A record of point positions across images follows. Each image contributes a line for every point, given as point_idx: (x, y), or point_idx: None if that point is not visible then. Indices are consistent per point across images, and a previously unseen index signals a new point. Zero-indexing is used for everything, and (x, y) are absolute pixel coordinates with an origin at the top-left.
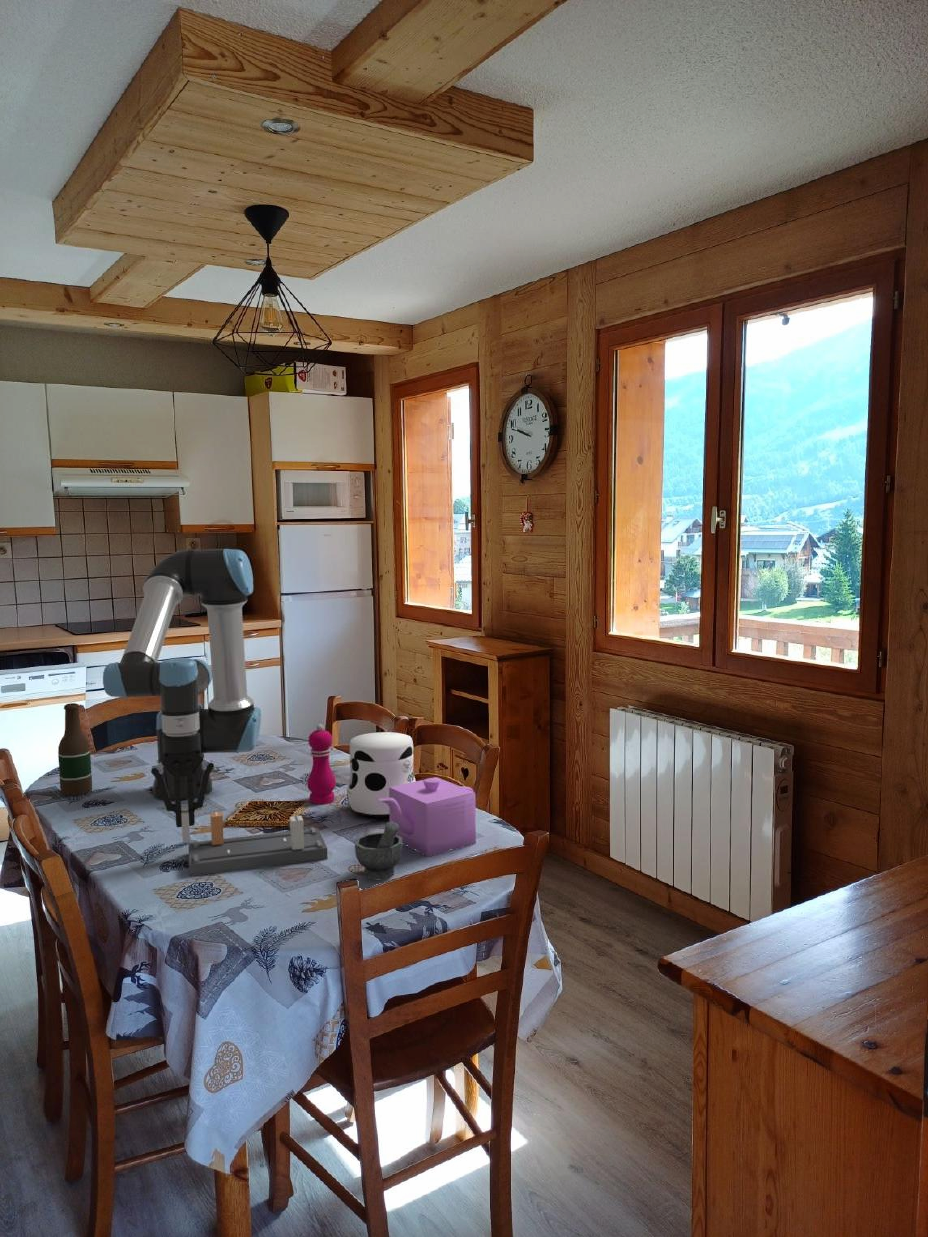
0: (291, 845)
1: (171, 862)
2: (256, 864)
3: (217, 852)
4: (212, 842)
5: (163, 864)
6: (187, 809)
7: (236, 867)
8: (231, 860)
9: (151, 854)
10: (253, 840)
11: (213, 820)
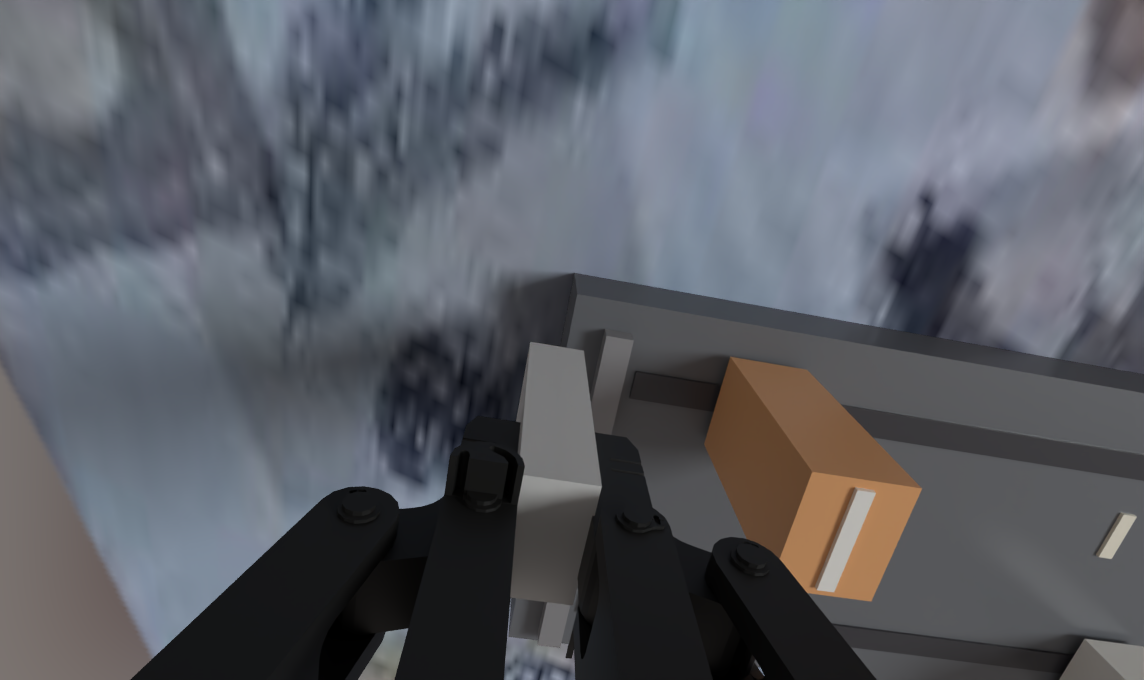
0: (1077, 668)
1: (450, 363)
2: None
3: (699, 543)
4: (711, 456)
5: (401, 372)
6: (586, 500)
7: None
8: None
9: (336, 153)
10: (965, 457)
11: None
